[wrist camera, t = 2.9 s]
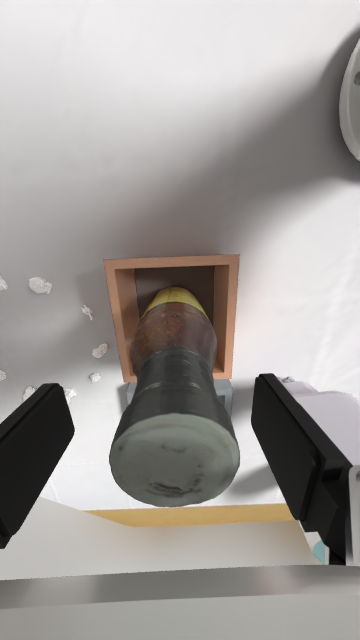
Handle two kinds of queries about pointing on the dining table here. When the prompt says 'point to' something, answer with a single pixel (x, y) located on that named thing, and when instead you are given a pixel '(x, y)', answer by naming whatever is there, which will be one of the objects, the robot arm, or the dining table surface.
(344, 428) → the charger
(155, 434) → the sauce bottle
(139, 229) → the dining table surface
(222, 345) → the open terracotta box
